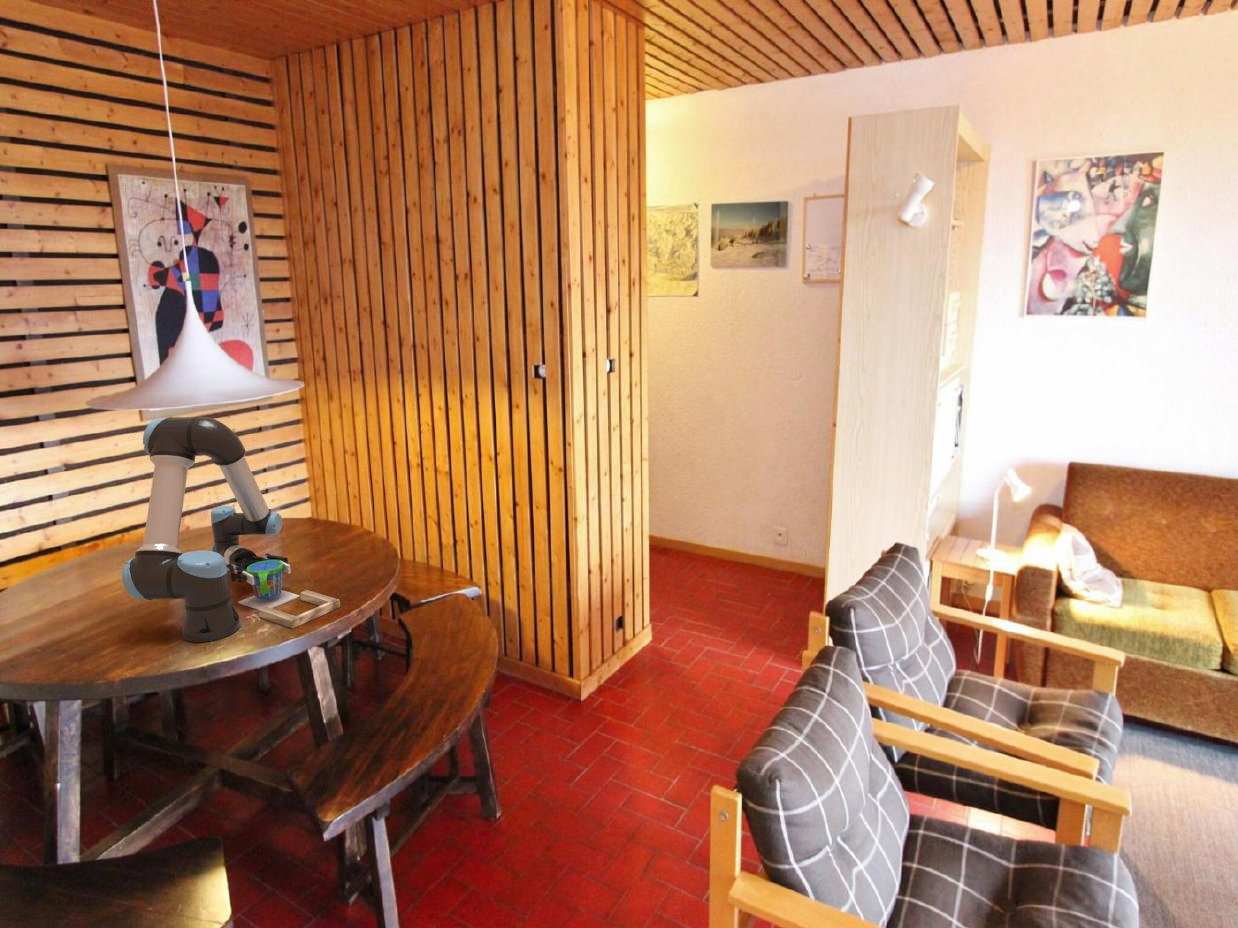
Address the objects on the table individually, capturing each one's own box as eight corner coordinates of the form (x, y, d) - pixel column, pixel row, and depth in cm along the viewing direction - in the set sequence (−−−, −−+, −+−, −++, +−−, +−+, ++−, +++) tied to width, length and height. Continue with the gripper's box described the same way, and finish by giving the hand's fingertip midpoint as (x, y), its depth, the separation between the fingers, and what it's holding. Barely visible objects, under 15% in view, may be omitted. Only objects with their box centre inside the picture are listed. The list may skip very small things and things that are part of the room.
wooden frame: (292, 628, 220) (291, 620, 219) (259, 617, 227) (258, 609, 227) (340, 607, 234) (339, 599, 233) (307, 597, 242) (306, 589, 241)
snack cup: (256, 587, 246) (252, 558, 243) (291, 584, 248) (287, 555, 246) (244, 607, 231) (240, 576, 229) (281, 603, 233) (277, 573, 231)
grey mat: (263, 611, 231) (263, 610, 231) (237, 603, 238) (237, 601, 238) (300, 596, 242) (299, 595, 242) (274, 588, 249) (274, 587, 248)
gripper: (276, 559, 258) (308, 575, 244) (205, 579, 241) (234, 597, 227) (274, 538, 257) (305, 553, 243) (202, 557, 240) (231, 574, 226)
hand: (271, 574), depth 235 cm, fingers closed on snack cup, 11 cm apart
